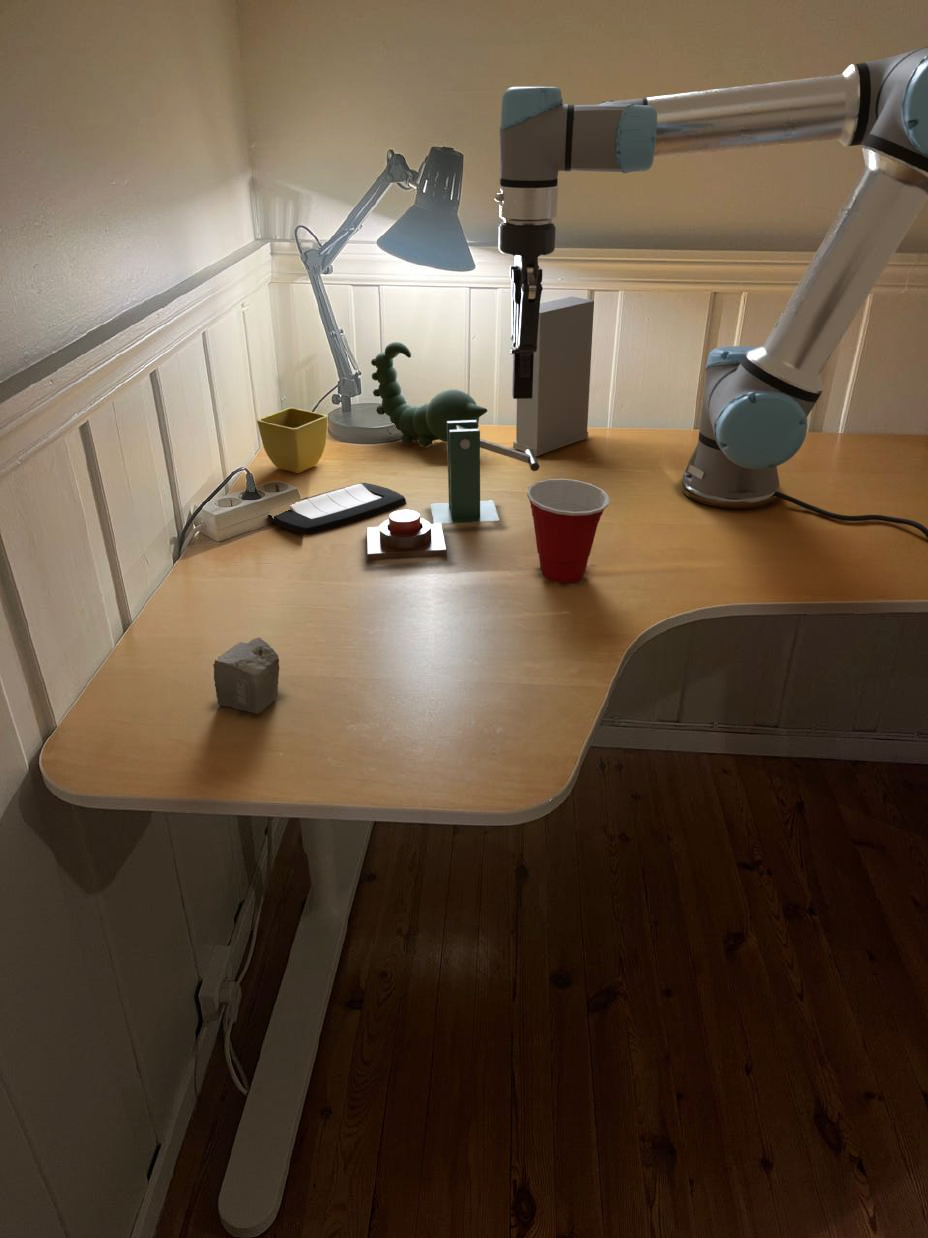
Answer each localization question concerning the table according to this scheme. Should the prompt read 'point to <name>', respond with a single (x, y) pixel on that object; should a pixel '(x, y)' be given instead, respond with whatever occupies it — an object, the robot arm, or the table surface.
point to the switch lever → (509, 452)
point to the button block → (405, 542)
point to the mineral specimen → (247, 676)
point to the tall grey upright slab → (558, 378)
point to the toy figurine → (414, 419)
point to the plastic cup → (565, 525)
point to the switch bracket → (463, 479)
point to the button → (404, 522)
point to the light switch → (338, 508)
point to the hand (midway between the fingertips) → (522, 396)
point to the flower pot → (294, 438)
